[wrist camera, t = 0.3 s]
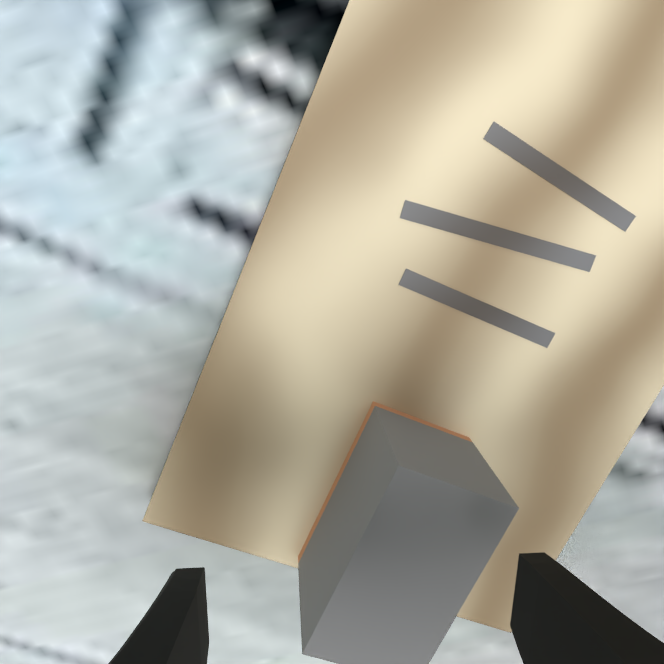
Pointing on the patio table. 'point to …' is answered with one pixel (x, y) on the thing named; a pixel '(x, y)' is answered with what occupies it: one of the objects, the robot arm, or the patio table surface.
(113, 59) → the patio table surface
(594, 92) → the board
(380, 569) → the block
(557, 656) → the robot arm
